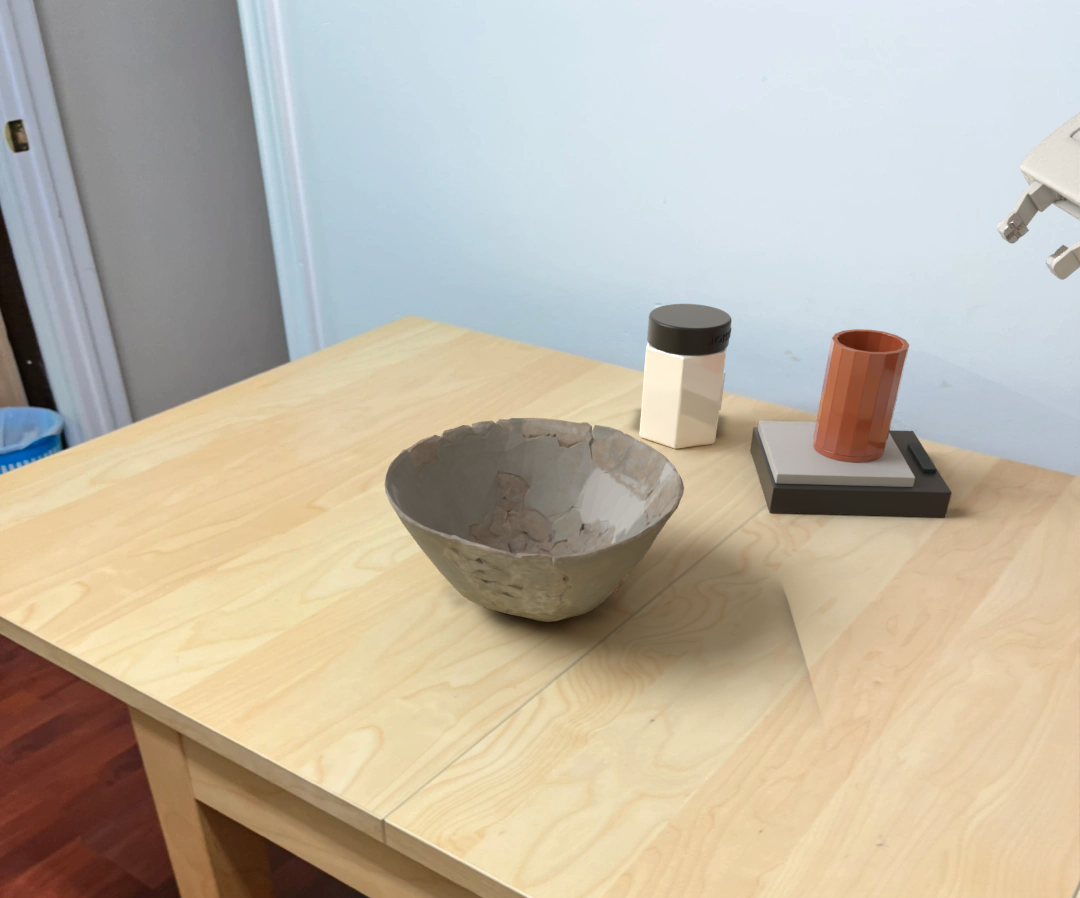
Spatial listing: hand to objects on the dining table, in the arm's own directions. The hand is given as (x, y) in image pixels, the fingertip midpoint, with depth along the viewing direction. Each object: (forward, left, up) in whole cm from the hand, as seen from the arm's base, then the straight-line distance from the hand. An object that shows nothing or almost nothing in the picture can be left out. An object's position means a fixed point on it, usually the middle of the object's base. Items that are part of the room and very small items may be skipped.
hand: (1026, 253), depth 89 cm
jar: (+27, -9, -21) cm, 35 cm away
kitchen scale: (+12, +2, -21) cm, 24 cm away
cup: (+12, +2, -17) cm, 21 cm away
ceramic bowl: (+41, +24, -21) cm, 52 cm away
